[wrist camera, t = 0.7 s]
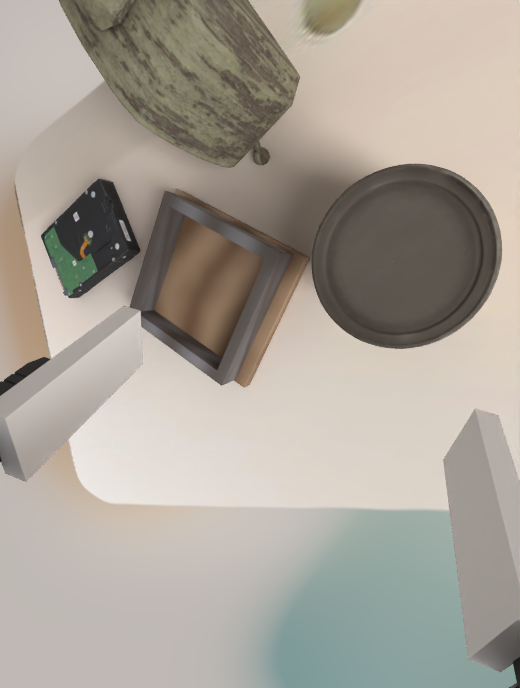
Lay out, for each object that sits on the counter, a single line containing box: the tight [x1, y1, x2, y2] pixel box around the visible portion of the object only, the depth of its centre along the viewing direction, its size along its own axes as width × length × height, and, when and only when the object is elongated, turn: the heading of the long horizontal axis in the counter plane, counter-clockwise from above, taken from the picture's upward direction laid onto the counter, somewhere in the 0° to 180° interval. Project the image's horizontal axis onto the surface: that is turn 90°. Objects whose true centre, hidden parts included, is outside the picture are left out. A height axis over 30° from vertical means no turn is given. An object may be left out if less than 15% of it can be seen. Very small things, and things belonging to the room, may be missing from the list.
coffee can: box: [312, 164, 502, 349], centre depth 28 cm, size 10×10×14 cm
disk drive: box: [41, 179, 140, 298], centre depth 53 cm, size 10×3×15 cm
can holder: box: [130, 189, 310, 387], centre depth 43 cm, size 18×16×4 cm
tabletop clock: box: [59, 0, 300, 168], centre depth 28 cm, size 14×9×25 cm, turn 37°
